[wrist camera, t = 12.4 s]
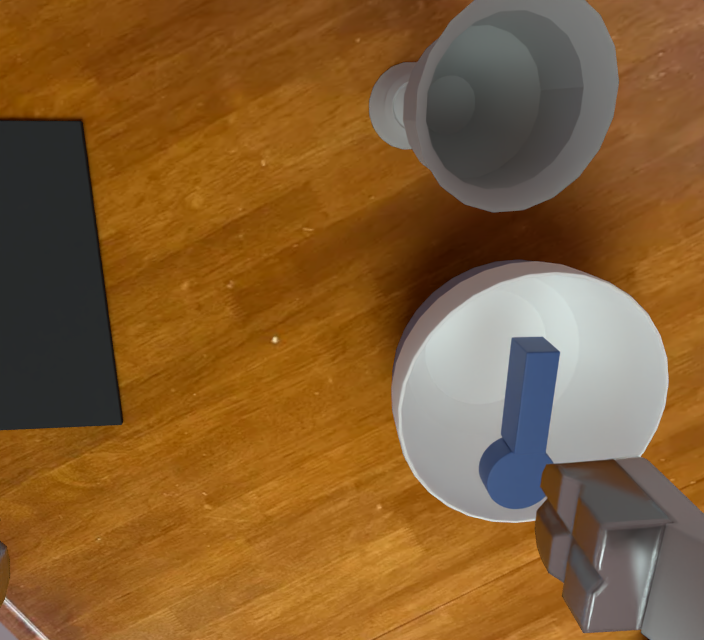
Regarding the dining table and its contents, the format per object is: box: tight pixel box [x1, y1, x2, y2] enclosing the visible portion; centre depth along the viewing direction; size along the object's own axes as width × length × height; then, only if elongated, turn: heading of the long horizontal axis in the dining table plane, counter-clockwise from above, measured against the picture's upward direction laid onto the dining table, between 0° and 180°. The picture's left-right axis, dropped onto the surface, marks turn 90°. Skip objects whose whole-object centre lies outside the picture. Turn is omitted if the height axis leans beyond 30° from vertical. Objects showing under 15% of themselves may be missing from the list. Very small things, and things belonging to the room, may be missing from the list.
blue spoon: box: [479, 337, 560, 509], centre depth 33 cm, size 10×4×2 cm, turn 179°
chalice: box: [369, 0, 619, 212], centre depth 28 cm, size 7×7×18 cm
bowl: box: [391, 260, 669, 523], centre depth 38 cm, size 16×16×10 cm
